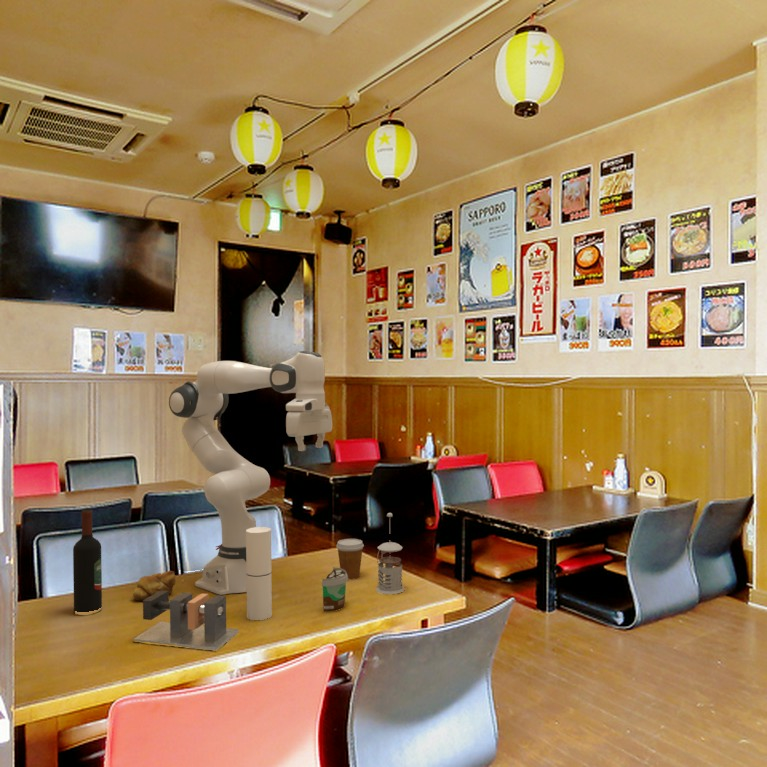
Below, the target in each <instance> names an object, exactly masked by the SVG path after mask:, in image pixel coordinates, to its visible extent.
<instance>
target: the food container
mask: <svg viewBox="0 0 767 767" xmlns="http://www.w3.org/2000/svg"><path fill="white" fill-rule="evenodd" d="M321 579H322V580H321V587H322V604H323V605H322V606H323V612H325V611H326V612H327V613H328V612H336V610H337V611H339V609H340V610H342V609H343V608H344V607H345V606H344V605H345V604H346V587H347V586H346V585H347V582H348V581H349V579H348V575H347V573H346V571H345V570H344V569H341V568H340V567H332V571H331V572H329V574H328V575H327V576H326V577H325V578H321ZM341 608H342V609H341Z"/></svg>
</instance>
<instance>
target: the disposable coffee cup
mask: <svg viewBox="0 0 767 767" xmlns="http://www.w3.org/2000/svg"><path fill="white" fill-rule="evenodd" d="M335 546H336V549H337V554H338V562H339V568H341V569H344V570H345V571H346V573H347V575H348V580H354V579H353V578H355V579H358V578H360V575H361V566H362V565H361V564H362V558H363V557H362V556H363V555H362V554H363V548H364V547H365V545H364V543H363V540H361V539H358V538H344V539H339V540H338V541H337V544H336V545H335Z"/></svg>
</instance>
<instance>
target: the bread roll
mask: <svg viewBox="0 0 767 767" xmlns="http://www.w3.org/2000/svg"><path fill="white" fill-rule="evenodd" d="M176 582H177V581H176V575H175V571H173V570H168V571H165V572H162V573H160V572H159V573H158V572H157V573H153V574H152V575H148V576H143V577H140V578H139V580H138V582H137V583H136V587H137V588H136V589H135V590H134V591H133V593H132V597H133V599H134V600H136V601H143V600H145V599H146V598H148V597H150V596H152V595H153V594H155V593H157V592H159V591H161V590H162V591H169V595H170V594H171V593H172V591H173V588H174V586H175V584H176Z"/></svg>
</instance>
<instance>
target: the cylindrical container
mask: <svg viewBox="0 0 767 767" xmlns="http://www.w3.org/2000/svg"><path fill="white" fill-rule="evenodd" d="M246 578H247V592H246V618H247V620H249V619H250V620H249V621H254V620H260V621H264V619H265V620H268V619H270V618H271V617H272V616H273V599H272V597H273V595H272V593H273V591H272V590H273V589H272V582H273V580H272V578H273V577H272V528H271V527H266V526H256V527H254V528H249V529H247V530H246ZM267 618H268V619H267Z"/></svg>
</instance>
